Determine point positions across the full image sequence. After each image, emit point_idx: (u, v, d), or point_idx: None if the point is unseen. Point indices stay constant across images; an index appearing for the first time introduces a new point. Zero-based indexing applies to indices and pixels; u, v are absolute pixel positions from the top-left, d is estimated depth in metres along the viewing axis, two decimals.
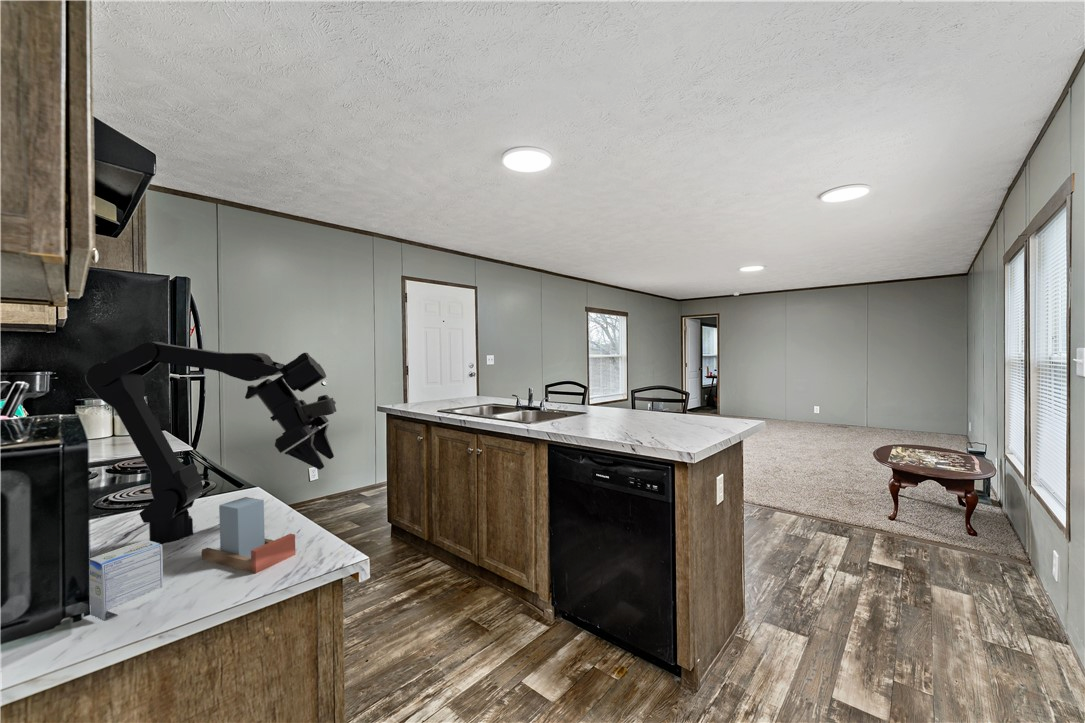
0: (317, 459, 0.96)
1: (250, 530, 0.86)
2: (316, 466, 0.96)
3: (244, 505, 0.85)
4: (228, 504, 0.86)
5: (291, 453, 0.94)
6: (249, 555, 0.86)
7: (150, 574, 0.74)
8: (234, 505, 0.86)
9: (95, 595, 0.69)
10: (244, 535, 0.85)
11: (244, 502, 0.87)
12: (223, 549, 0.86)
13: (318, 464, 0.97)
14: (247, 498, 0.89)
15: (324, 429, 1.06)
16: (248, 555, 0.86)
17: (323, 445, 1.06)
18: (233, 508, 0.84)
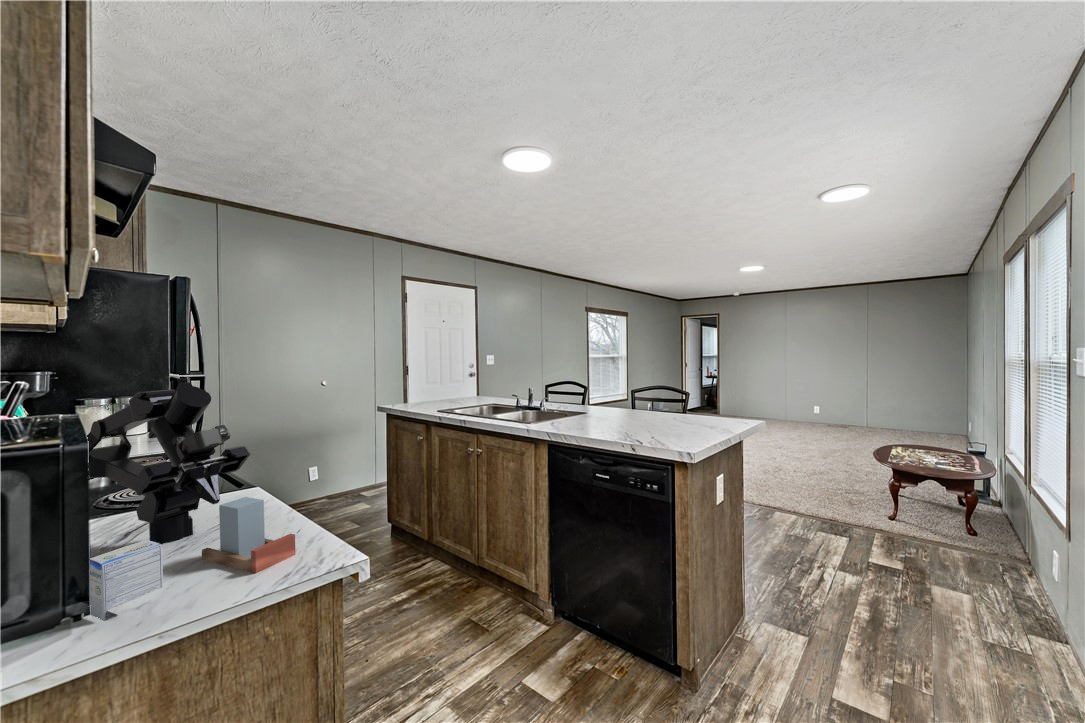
0: (207, 493, 0.89)
1: (250, 530, 0.86)
2: (209, 501, 0.89)
3: (244, 505, 0.85)
4: (228, 504, 0.86)
5: (184, 488, 0.90)
6: (249, 555, 0.86)
7: (150, 574, 0.74)
8: (234, 505, 0.86)
9: (95, 595, 0.69)
10: (244, 535, 0.85)
11: (244, 502, 0.87)
12: (223, 549, 0.86)
13: (210, 498, 0.89)
14: (247, 498, 0.89)
15: (209, 468, 0.91)
16: (248, 555, 0.86)
17: None
18: (233, 508, 0.84)
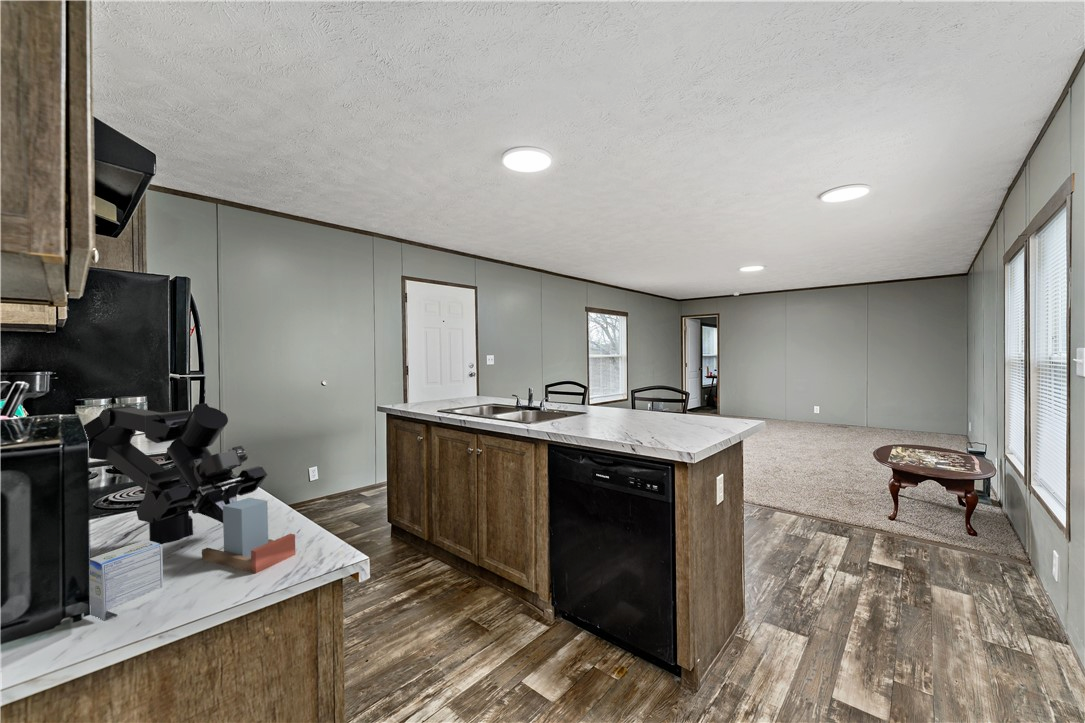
0: None
1: (254, 531, 0.86)
2: None
3: (248, 506, 0.85)
4: (231, 505, 0.85)
5: (202, 511, 0.88)
6: None
7: (150, 574, 0.74)
8: (237, 505, 0.85)
9: (95, 595, 0.69)
10: (248, 536, 0.85)
11: (248, 503, 0.86)
12: (227, 550, 0.85)
13: None
14: (251, 499, 0.89)
15: (228, 491, 0.89)
16: None
17: None
18: (237, 509, 0.84)
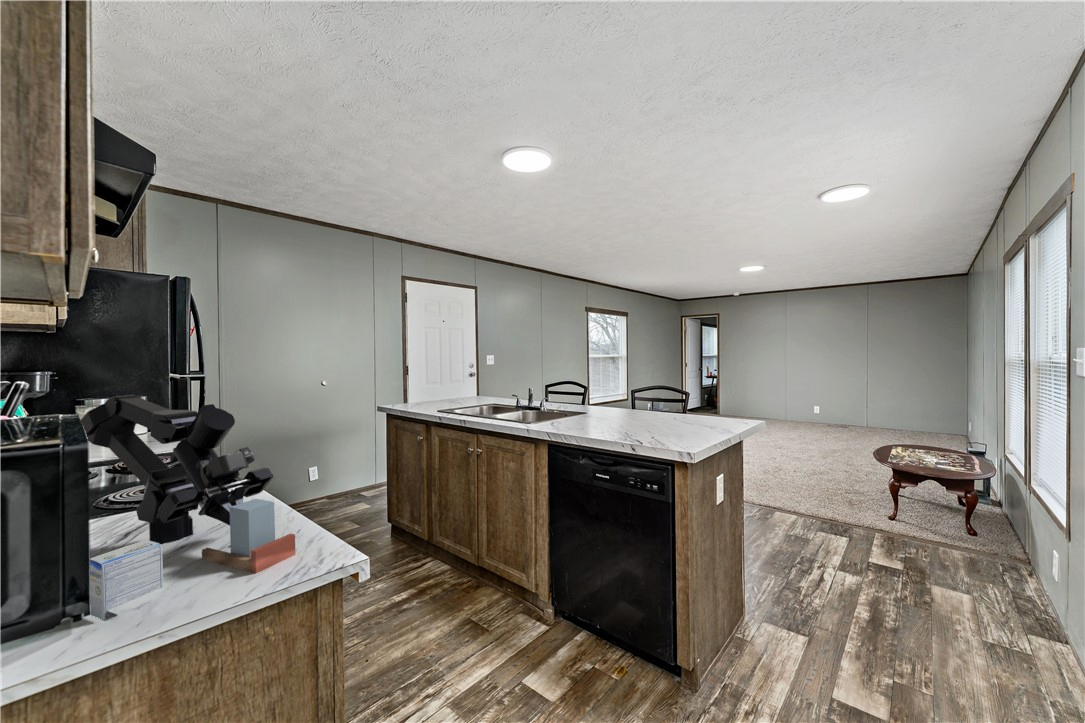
0: None
1: (261, 533, 0.85)
2: None
3: (255, 507, 0.84)
4: (238, 506, 0.85)
5: (208, 513, 0.87)
6: None
7: (150, 574, 0.74)
8: (244, 506, 0.85)
9: (95, 595, 0.69)
10: (255, 537, 0.84)
11: (254, 504, 0.86)
12: (233, 551, 0.84)
13: None
14: (257, 500, 0.88)
15: (234, 493, 0.89)
16: None
17: None
18: (244, 510, 0.83)
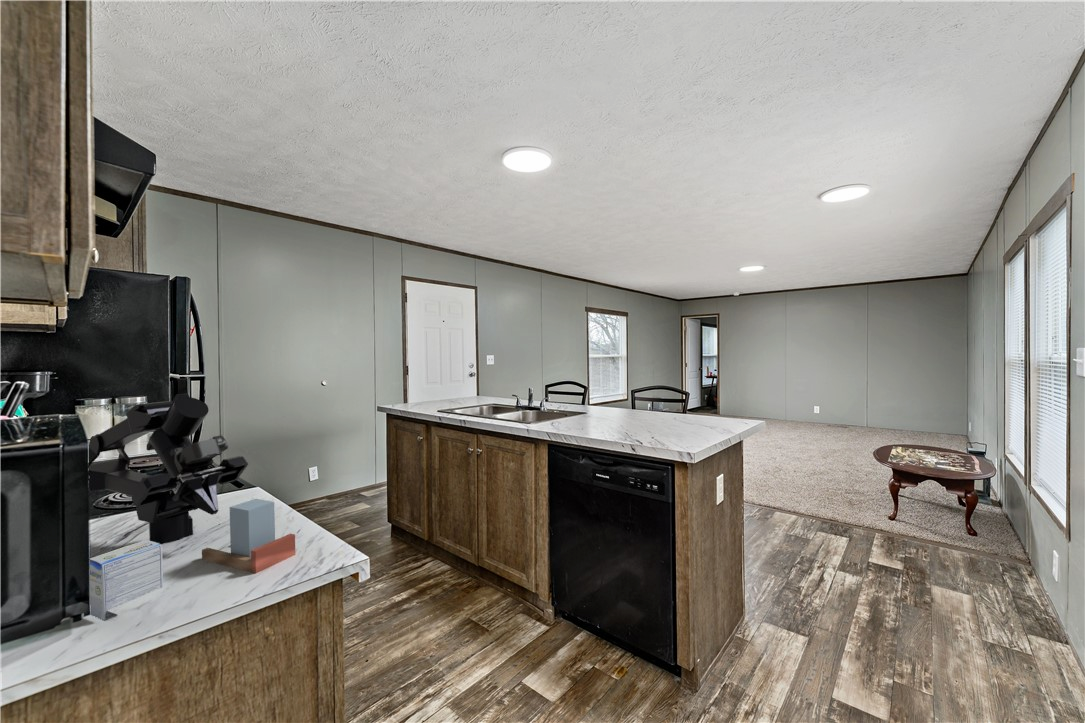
0: (205, 504, 0.89)
1: (261, 533, 0.85)
2: (207, 511, 0.90)
3: (255, 507, 0.84)
4: (238, 506, 0.85)
5: (182, 499, 0.90)
6: None
7: (150, 574, 0.74)
8: (244, 506, 0.85)
9: (95, 595, 0.69)
10: (255, 537, 0.84)
11: (254, 504, 0.86)
12: (233, 551, 0.84)
13: (208, 509, 0.90)
14: (257, 500, 0.88)
15: (208, 479, 0.91)
16: None
17: None
18: (244, 510, 0.83)
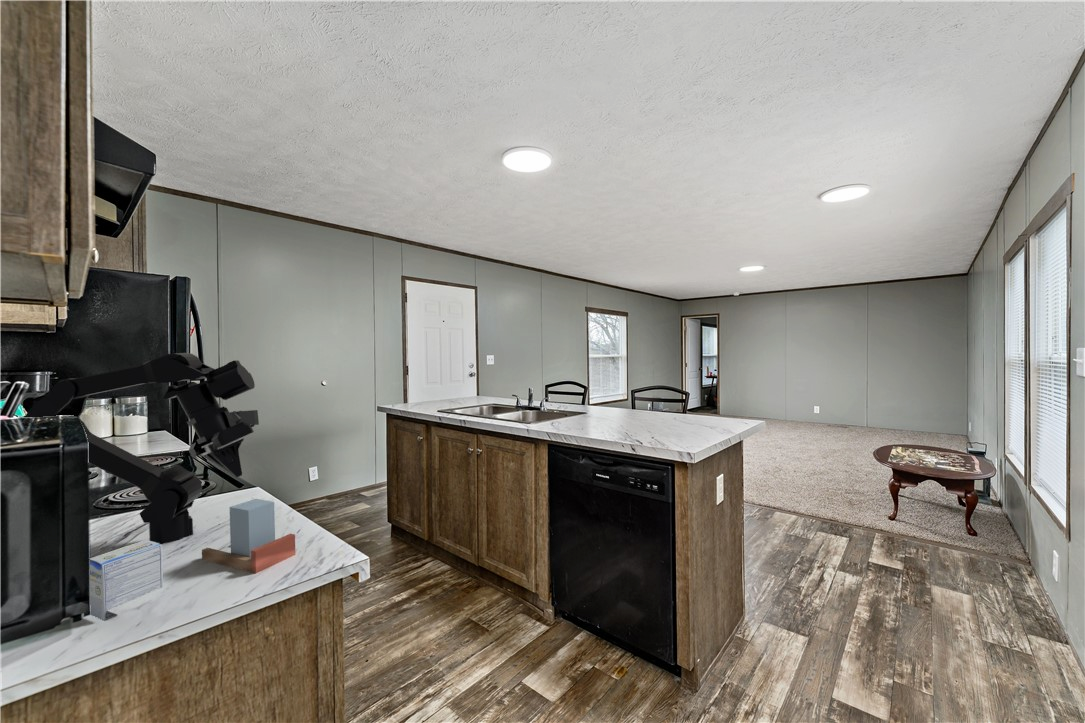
0: (238, 465, 0.98)
1: (261, 533, 0.85)
2: (235, 472, 0.97)
3: (255, 507, 0.84)
4: (238, 506, 0.85)
5: (217, 454, 0.94)
6: None
7: (150, 574, 0.74)
8: (244, 506, 0.85)
9: (95, 595, 0.69)
10: (255, 537, 0.84)
11: (254, 504, 0.86)
12: (233, 551, 0.84)
13: (238, 471, 0.98)
14: (257, 500, 0.88)
15: None
16: None
17: None
18: (244, 510, 0.83)
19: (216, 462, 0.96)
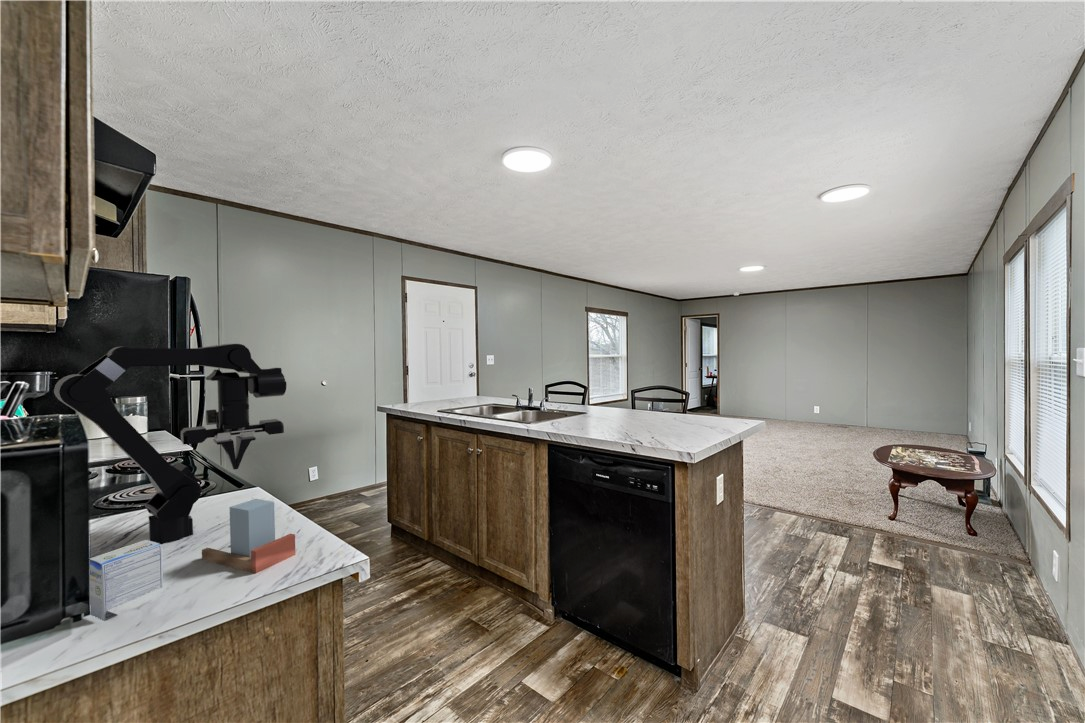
0: None
1: (261, 533, 0.85)
2: None
3: (255, 507, 0.84)
4: (238, 506, 0.85)
5: None
6: None
7: (150, 574, 0.74)
8: (244, 506, 0.85)
9: (95, 595, 0.69)
10: (255, 537, 0.84)
11: (254, 504, 0.86)
12: (233, 551, 0.84)
13: None
14: (257, 500, 0.88)
15: None
16: None
17: None
18: (244, 510, 0.83)
19: (233, 450, 1.03)
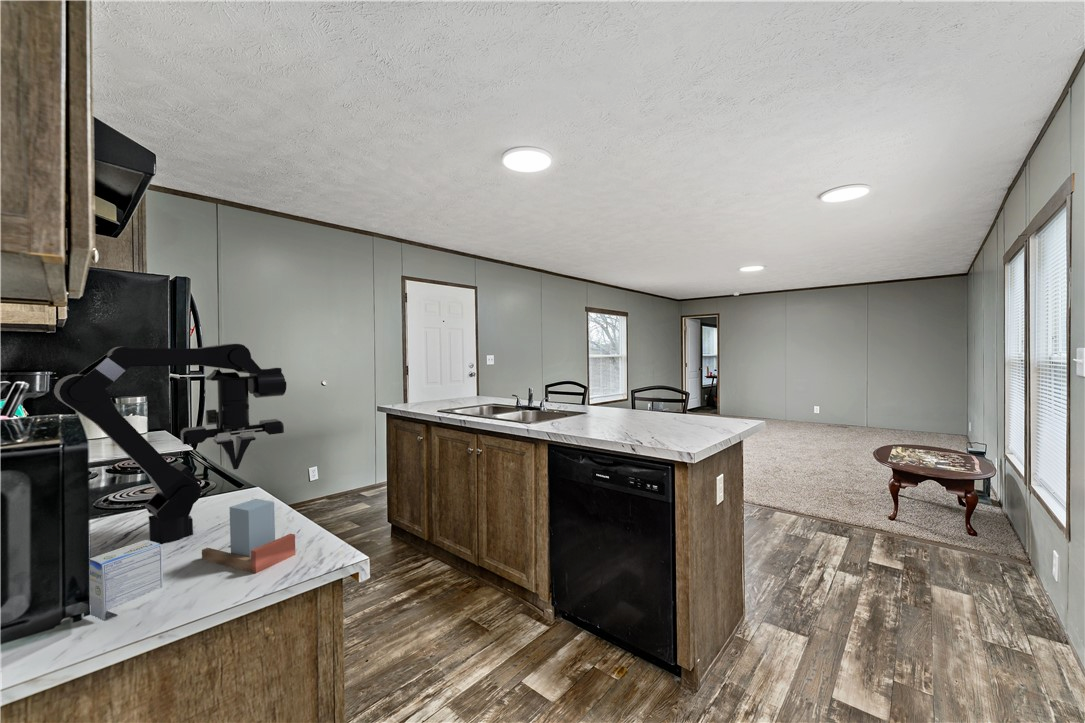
0: None
1: (261, 533, 0.85)
2: None
3: (255, 507, 0.84)
4: (238, 506, 0.85)
5: None
6: None
7: (150, 574, 0.74)
8: (244, 506, 0.85)
9: (95, 595, 0.69)
10: (255, 537, 0.84)
11: (254, 504, 0.86)
12: (233, 551, 0.84)
13: None
14: (257, 500, 0.88)
15: None
16: None
17: None
18: (244, 510, 0.83)
19: (233, 450, 1.03)
